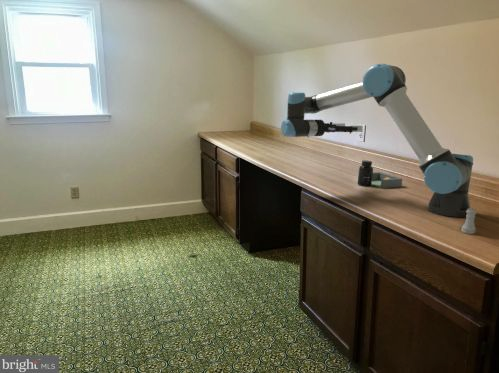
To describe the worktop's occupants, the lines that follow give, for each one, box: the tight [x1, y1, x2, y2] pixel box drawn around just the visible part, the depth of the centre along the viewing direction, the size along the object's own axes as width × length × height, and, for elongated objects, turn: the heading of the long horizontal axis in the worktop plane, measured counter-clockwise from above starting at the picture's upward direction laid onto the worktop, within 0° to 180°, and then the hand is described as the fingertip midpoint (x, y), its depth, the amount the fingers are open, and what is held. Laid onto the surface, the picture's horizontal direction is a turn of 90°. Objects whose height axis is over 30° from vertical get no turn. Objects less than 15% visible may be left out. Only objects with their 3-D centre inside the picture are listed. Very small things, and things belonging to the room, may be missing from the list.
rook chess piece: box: [460, 208, 478, 235], centre depth 138 cm, size 4×4×8 cm
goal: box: [371, 171, 403, 189], centre depth 208 cm, size 12×17×4 cm
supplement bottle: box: [357, 159, 374, 187], centre depth 203 cm, size 7×7×12 cm
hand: (353, 127), depth 195 cm, fingers open, 13 cm apart
